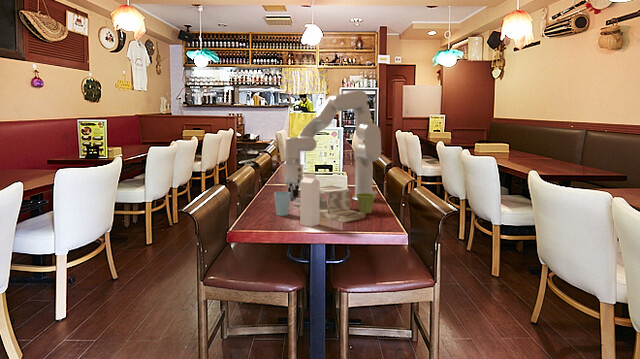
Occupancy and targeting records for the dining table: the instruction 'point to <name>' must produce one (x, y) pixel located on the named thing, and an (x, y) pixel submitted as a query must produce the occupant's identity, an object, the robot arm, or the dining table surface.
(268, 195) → the dining table surface
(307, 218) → the milk
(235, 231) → the dining table surface
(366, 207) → the plant pot
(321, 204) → the slider
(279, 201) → the cup
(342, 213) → the tunnel
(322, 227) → the dining table surface
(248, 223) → the dining table surface
